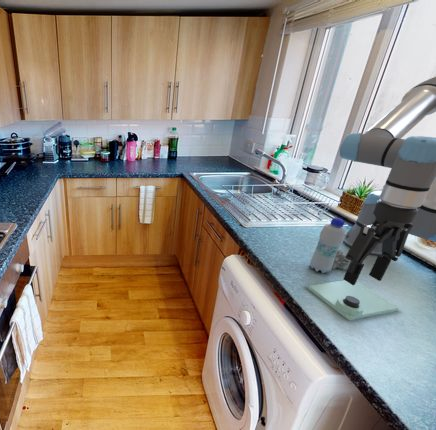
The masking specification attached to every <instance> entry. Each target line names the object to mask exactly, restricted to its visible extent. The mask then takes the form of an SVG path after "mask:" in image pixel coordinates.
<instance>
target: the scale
mask: <svg viewBox="0 0 436 430" xmlns="http://www.w3.org/2000/svg"><path fill="white" fill-rule="evenodd" d="M307 289H308V290H309V291H311V293H313V294H314V295H315V296H317V297H318V298H319V299H321V300H322V301H323V302H324V303H325V304H327V305H328V306H329V307H331V308H332V309H333V310H335V311H336V312H337V313H338V314H340V315H341V316H343V317H344V319H347V320H348V321H353V320H357V319H363V318H368V317H373V316H378V315H382V314H383V315H384V314H389V313H393V312H397V311H399V309H400V307H399V306H397V305H396V304H394V303H393V302H391V301H389V300H388V299H386V298H385V297H383V296H381V295H380V294H378V293H377V292H375V291H373V290H371V288H369V287H367V286H366V285H364V284H362V283H360V282H359V281H358V280H357V281H356V284H355V285H352V284H350V283H348V282H347V281H345V280H344V279H341V280H335V281H330V282H324V283H318V284H310V285H308V286H307ZM346 296H352V297H355V298H357V299H358V300H359V301H360V303H359V305H358V307H357V308H352V307H349V306H347V305H346V304H344V300H345V298H346Z"/></svg>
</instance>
